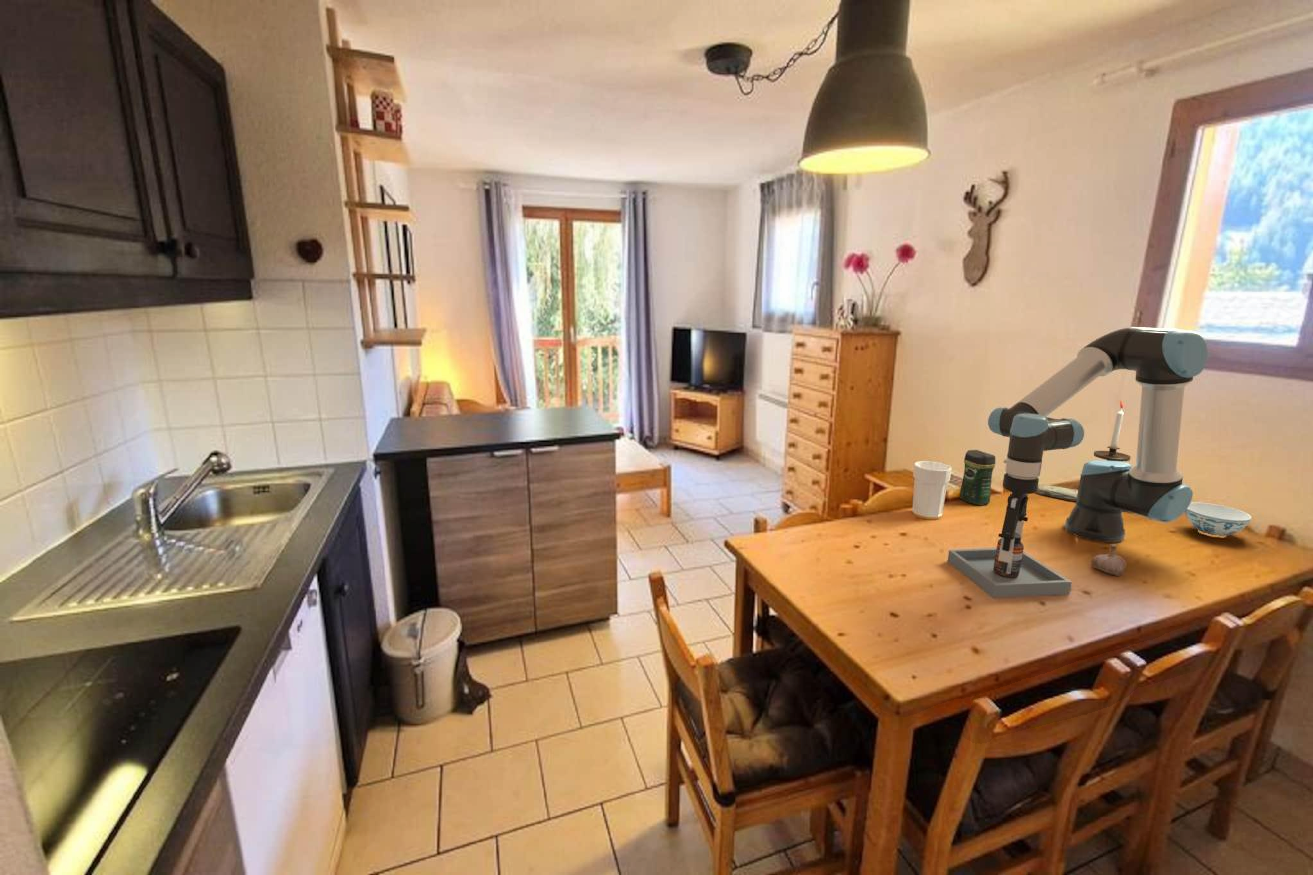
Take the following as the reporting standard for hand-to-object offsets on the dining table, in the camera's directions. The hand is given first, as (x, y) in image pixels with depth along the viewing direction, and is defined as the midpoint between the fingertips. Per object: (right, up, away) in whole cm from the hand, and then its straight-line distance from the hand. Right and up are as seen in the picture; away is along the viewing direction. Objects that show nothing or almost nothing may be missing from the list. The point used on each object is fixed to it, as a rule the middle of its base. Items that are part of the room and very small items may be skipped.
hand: (1009, 552), depth 152 cm
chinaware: (+81, 0, +29) cm, 86 cm away
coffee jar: (+22, +7, +57) cm, 62 cm away
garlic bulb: (+30, -6, +5) cm, 31 cm away
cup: (-1, +4, +44) cm, 45 cm away
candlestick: (+77, +10, +68) cm, 103 cm away
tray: (0, -7, +2) cm, 7 cm away
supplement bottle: (0, -6, +2) cm, 6 cm away
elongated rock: (+64, +6, +57) cm, 86 cm away
